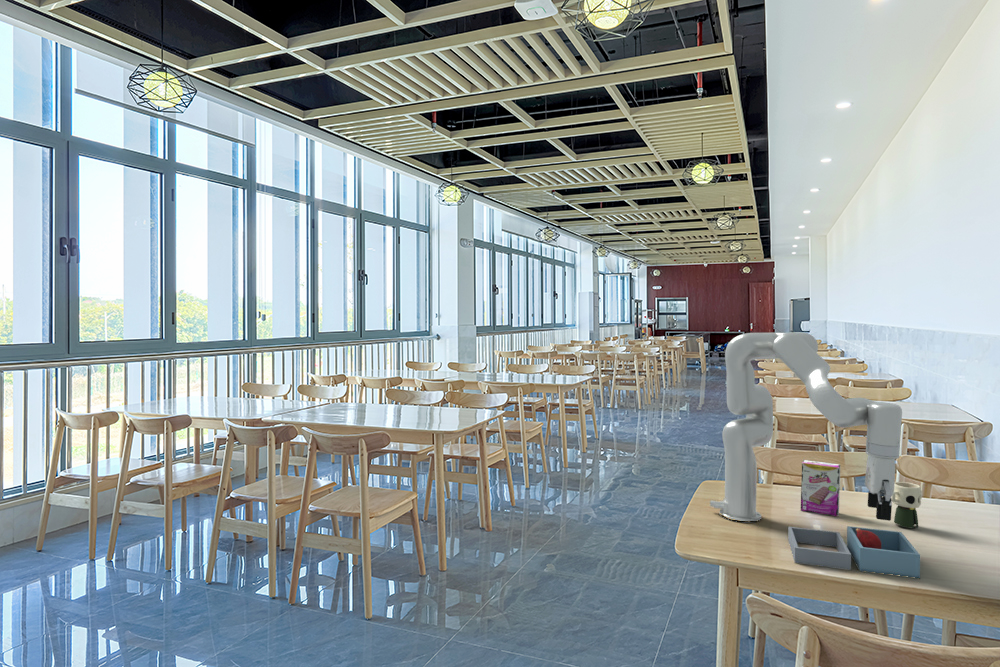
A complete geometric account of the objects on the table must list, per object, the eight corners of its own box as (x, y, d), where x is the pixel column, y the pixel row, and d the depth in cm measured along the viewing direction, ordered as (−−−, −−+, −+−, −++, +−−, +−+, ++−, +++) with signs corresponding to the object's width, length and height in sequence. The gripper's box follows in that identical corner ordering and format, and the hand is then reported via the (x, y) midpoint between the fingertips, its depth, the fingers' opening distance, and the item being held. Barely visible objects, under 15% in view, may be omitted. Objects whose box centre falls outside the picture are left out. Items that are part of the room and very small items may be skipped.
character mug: (901, 531, 182) (902, 489, 182) (881, 523, 189) (882, 482, 189) (930, 529, 185) (931, 486, 184) (910, 521, 192) (911, 480, 191)
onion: (891, 549, 158) (869, 521, 162) (872, 560, 158) (850, 532, 162) (885, 551, 163) (863, 524, 167) (866, 562, 163) (845, 534, 167)
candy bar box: (800, 511, 202) (801, 462, 201) (802, 507, 206) (802, 459, 205) (838, 517, 196) (839, 466, 195) (839, 513, 200) (840, 463, 199)
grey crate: (794, 562, 159) (795, 547, 159) (788, 540, 175) (788, 526, 175) (850, 569, 155) (851, 554, 155) (838, 546, 171) (839, 532, 171)
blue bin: (859, 571, 154) (860, 547, 154) (846, 547, 170) (847, 526, 170) (919, 578, 150) (920, 554, 150) (900, 553, 166) (901, 531, 166)
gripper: (859, 441, 169) (855, 501, 170) (873, 456, 152) (869, 522, 154) (890, 444, 166) (886, 505, 167) (908, 459, 150) (904, 526, 151)
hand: (878, 513), depth 160 cm, fingers open, 9 cm apart
